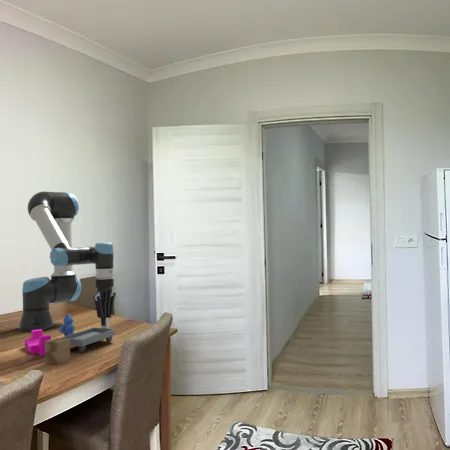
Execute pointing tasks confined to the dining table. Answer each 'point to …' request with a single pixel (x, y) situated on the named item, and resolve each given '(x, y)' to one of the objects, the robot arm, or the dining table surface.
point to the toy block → (37, 342)
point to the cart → (90, 337)
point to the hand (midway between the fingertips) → (105, 332)
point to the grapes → (67, 326)
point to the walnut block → (57, 351)
